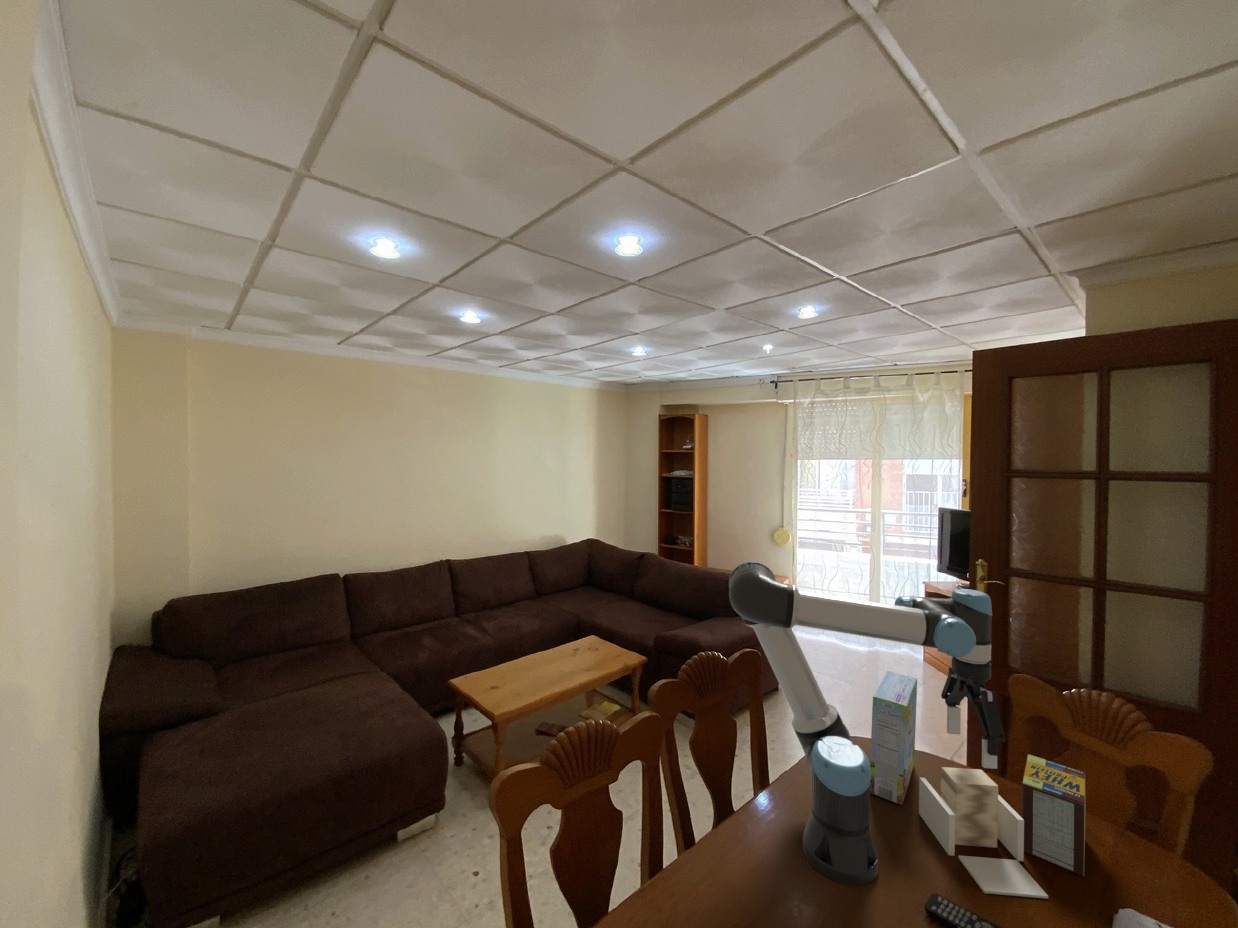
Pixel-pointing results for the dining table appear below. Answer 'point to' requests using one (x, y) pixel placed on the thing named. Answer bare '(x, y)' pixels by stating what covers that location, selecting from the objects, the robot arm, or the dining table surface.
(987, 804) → the block
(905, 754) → the snack box
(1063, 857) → the protein box
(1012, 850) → the shelf bay
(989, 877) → the felt mat
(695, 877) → the dining table surface
